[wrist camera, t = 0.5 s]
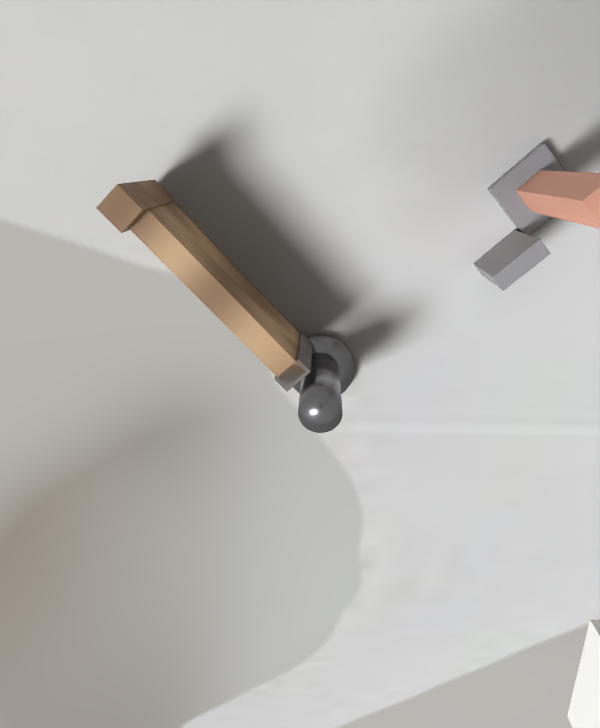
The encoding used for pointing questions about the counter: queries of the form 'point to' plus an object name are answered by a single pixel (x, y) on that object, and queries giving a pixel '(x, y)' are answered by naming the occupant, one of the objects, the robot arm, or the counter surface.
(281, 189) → the counter surface
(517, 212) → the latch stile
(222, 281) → the gate
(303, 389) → the hinge post
